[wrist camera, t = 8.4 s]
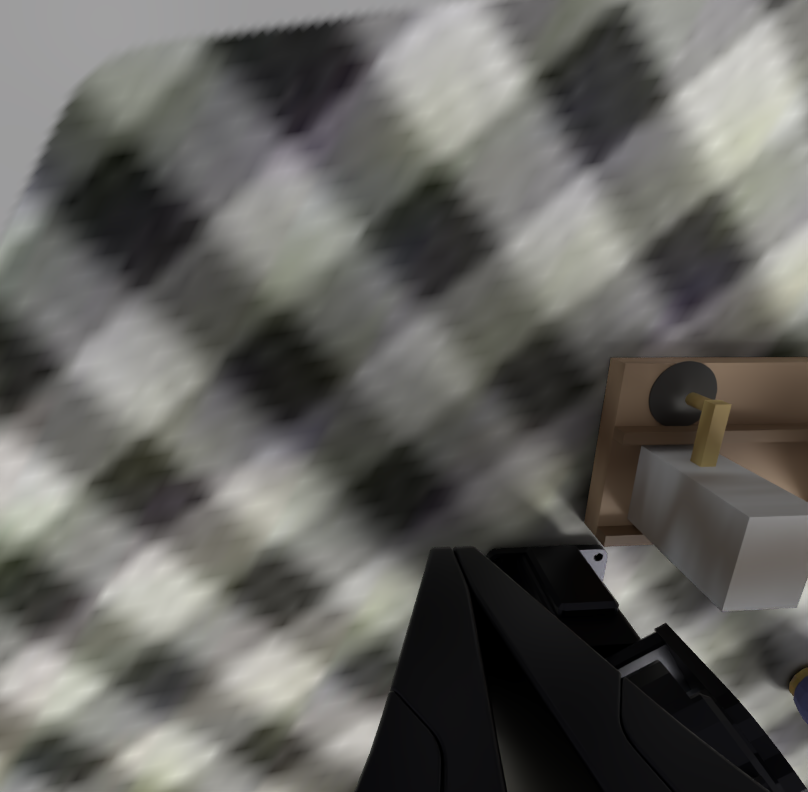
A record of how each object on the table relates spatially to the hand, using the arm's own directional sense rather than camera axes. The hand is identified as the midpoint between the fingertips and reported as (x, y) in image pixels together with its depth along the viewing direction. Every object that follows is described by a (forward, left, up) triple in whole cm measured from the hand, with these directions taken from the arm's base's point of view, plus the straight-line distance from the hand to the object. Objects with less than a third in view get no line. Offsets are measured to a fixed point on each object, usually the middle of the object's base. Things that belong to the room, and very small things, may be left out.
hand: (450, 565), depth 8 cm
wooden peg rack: (-3, -20, -12) cm, 23 cm away
